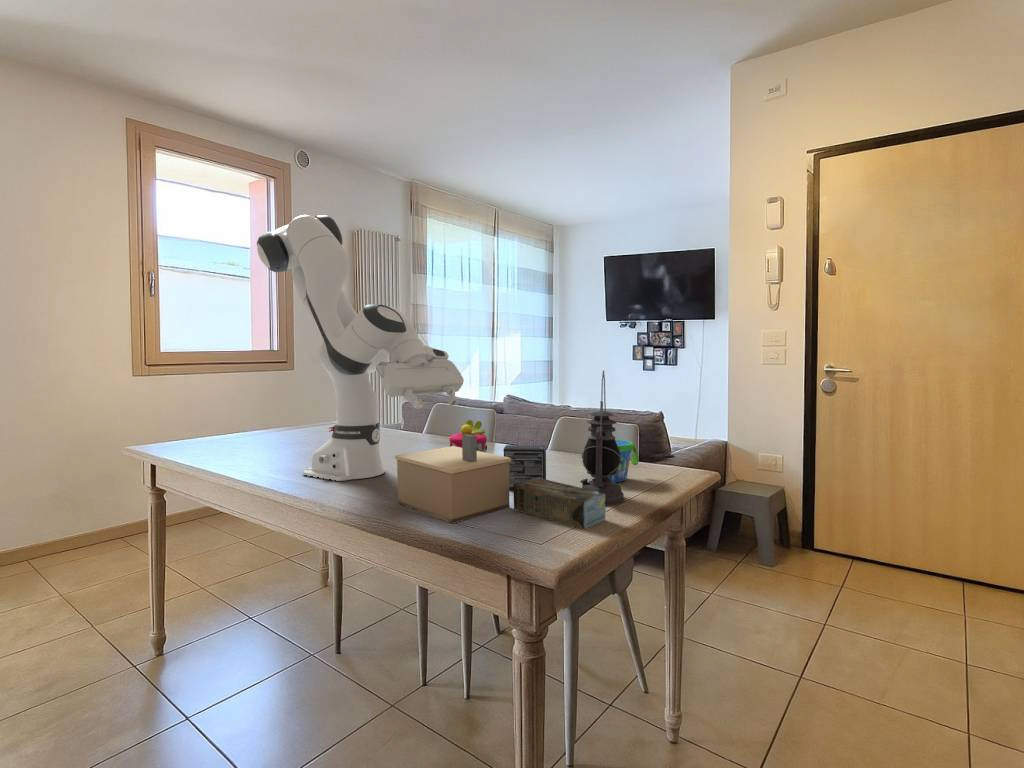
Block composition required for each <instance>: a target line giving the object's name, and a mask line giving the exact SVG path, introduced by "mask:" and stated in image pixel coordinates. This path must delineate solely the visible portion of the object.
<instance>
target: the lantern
mask: <svg viewBox="0 0 1024 768" xmlns="http://www.w3.org/2000/svg"><path fill="white" fill-rule="evenodd" d="M600 398H601V400H600V402H599V404H600V406H599V409H600V411H592V412H591V413H589V414H588V415H589V416H591V417H594V418H592V419H590V420H587V421H586V423H587V424H590V426H588V427H587V431H588V432H590V434H589V436H587V438H588V439H587V441H586V444H585V446H584V448H583V451H582V454H581V459H582V466H583V468H584V469H585V471H586V474H588V475H590V476H591V478H590V479H588V478H584V479H583V478H582V479H581V480H580V481H579V482H580V483H581V485H582V486H581V488H584V489H588V490H591V491H598V492H601V493H604V494H605V506H616V505H619V504H622V503H624V502H625V497H624V495H625V494H624V492H622V487H621V484H619V483H618V482H611V480H610V479H608V478H611V477H612V476H613V475H615V474H616V471H617V469H618V468H619V466H620V464H621V463H622V460H621V454H620V451H619V448H618V446H617V444H616V441H615V440H616V436H614V434H613V433H614V432H616V427H613V425H616V424H617V421H616V420H613V419H611V418H610V417H613V416H614V415H615V414H614V413H612V412H609V411H607V408H606V407H607V406H606V405H607V404H606V377H605V370H602V375H601V397H600ZM603 398H604V399H603ZM603 400H604V401H603Z"/></svg>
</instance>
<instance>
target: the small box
mask: <svg viewBox="0 0 1024 768" xmlns="http://www.w3.org/2000/svg"><path fill="white" fill-rule="evenodd" d="M546 447H547V446H546V445H543V444H534V445H533V444H506V445H505V446H504V447H503V456H504V457H509V458H511V462H509V491H513V486H514V484H516V483H520V482H523V481H525V480H530V479H532V478H535V477H536V478H541V479H545V480H547V448H546Z"/></svg>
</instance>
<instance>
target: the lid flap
mask: <svg viewBox="0 0 1024 768" xmlns="http://www.w3.org/2000/svg"><path fill="white" fill-rule="evenodd" d="M394 457H395V458H394V459H395V460H396V461H397V460H401V461H405V462H408V463H412V464H416V465H419V466H423V467H427V468H431V469H434V470H438V471H442V472H446V473H449V474H454V473H458V472H463V471H468V470H473V469H478V468H482V467H487V466H492V465H497V464H502V463H506V462H511V458H509V457H504V455H498V454H494V453H489V452H486V453H485V452H480V451H477V436H475V435H470V434H465V435H462V448H460V447H456V446H451V447H450V446H445V447H440V448H433V449H428V450H427V449H426V450H421V451H416V452H415V451H414V452H409V453H404V454H397V455H394Z"/></svg>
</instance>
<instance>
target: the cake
mask: <svg viewBox="0 0 1024 768" xmlns="http://www.w3.org/2000/svg"><path fill="white" fill-rule="evenodd" d="M482 425H483V422H482V420H477V421H476V422H475V423H474V421H473V420H472V419H467V420H466V421H465V424H463V425H460V431H461V432H458V433H454V434H452V435H450V436H449V447H451V446H456V447H460V448H462V435H465V434H470V435H475V436H477V451H480V452H485V453H487V450H488V446H487V436H486V435H485V433H486V430H485V429H480V428H481V427H482Z"/></svg>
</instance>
